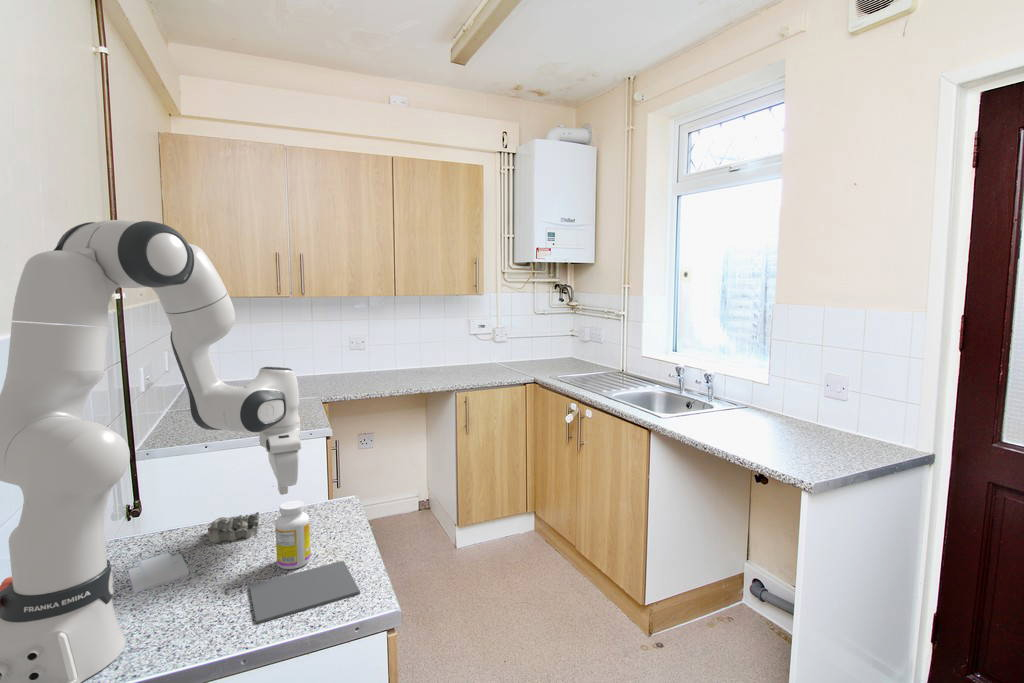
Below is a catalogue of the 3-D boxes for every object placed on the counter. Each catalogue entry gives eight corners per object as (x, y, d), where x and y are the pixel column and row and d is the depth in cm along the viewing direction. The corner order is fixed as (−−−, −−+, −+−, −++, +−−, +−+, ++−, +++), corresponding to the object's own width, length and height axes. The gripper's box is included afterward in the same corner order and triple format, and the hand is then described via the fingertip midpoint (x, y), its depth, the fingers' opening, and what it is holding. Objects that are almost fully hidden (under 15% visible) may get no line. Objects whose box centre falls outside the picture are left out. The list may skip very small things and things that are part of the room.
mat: (256, 624, 91) (256, 621, 91) (249, 587, 102) (249, 584, 102) (359, 593, 101) (359, 591, 101) (343, 562, 112) (343, 560, 112)
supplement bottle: (303, 551, 116) (301, 495, 115) (316, 562, 112) (314, 504, 110) (272, 562, 112) (269, 504, 110) (284, 574, 107) (281, 514, 106)
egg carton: (205, 546, 119) (204, 529, 119) (212, 531, 126) (211, 515, 126) (257, 539, 122) (256, 522, 122) (261, 525, 130) (260, 509, 129)
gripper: (260, 426, 129) (263, 480, 130) (271, 449, 111) (274, 511, 113) (288, 422, 132) (290, 475, 134) (302, 444, 115) (305, 504, 116)
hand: (283, 492), depth 123 cm, fingers closed
